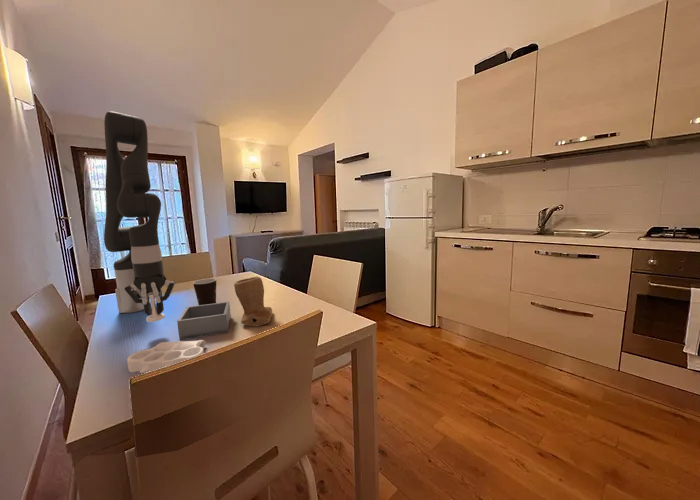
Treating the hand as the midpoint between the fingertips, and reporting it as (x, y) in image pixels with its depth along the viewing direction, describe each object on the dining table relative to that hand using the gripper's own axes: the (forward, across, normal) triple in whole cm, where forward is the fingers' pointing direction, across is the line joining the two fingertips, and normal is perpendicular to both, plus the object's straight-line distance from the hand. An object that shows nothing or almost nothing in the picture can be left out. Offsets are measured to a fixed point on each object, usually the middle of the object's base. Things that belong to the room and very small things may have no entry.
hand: (154, 313), depth 92 cm
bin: (+7, -14, 0) cm, 16 cm away
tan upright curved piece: (+7, -30, -1) cm, 30 cm away
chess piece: (+2, 0, 0) cm, 2 cm away
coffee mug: (+8, -11, -28) cm, 31 cm away
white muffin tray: (+7, -9, +20) cm, 23 cm away
